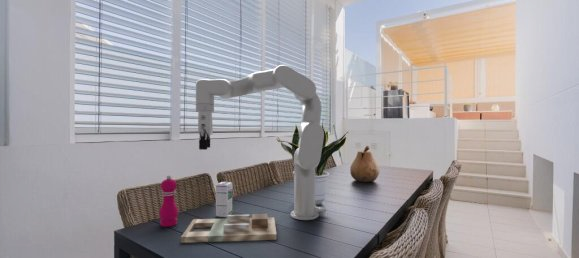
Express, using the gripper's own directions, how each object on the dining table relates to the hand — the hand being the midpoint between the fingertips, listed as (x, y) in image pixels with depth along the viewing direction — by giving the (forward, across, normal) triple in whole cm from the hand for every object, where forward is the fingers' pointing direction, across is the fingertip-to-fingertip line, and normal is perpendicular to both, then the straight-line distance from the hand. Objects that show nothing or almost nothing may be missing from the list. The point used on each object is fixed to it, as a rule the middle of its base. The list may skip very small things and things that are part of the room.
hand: (204, 148), depth 121 cm
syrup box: (+31, +4, -8) cm, 32 cm away
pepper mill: (+31, -5, +14) cm, 34 cm away
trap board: (+31, -16, -13) cm, 37 cm away
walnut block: (+28, -17, -23) cm, 40 cm away
